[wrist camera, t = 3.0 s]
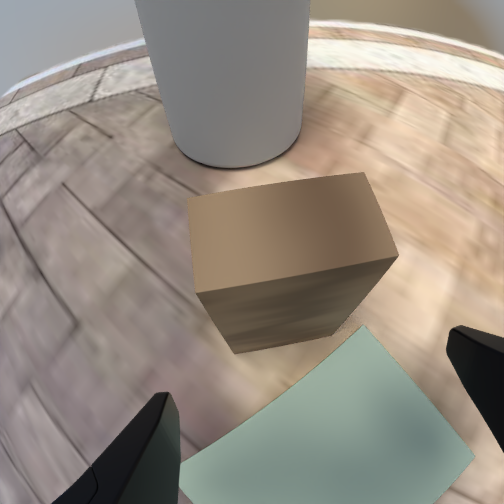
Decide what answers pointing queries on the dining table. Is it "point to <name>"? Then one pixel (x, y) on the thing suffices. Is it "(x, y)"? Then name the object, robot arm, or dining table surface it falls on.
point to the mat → (335, 440)
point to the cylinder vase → (229, 74)
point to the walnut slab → (287, 257)
